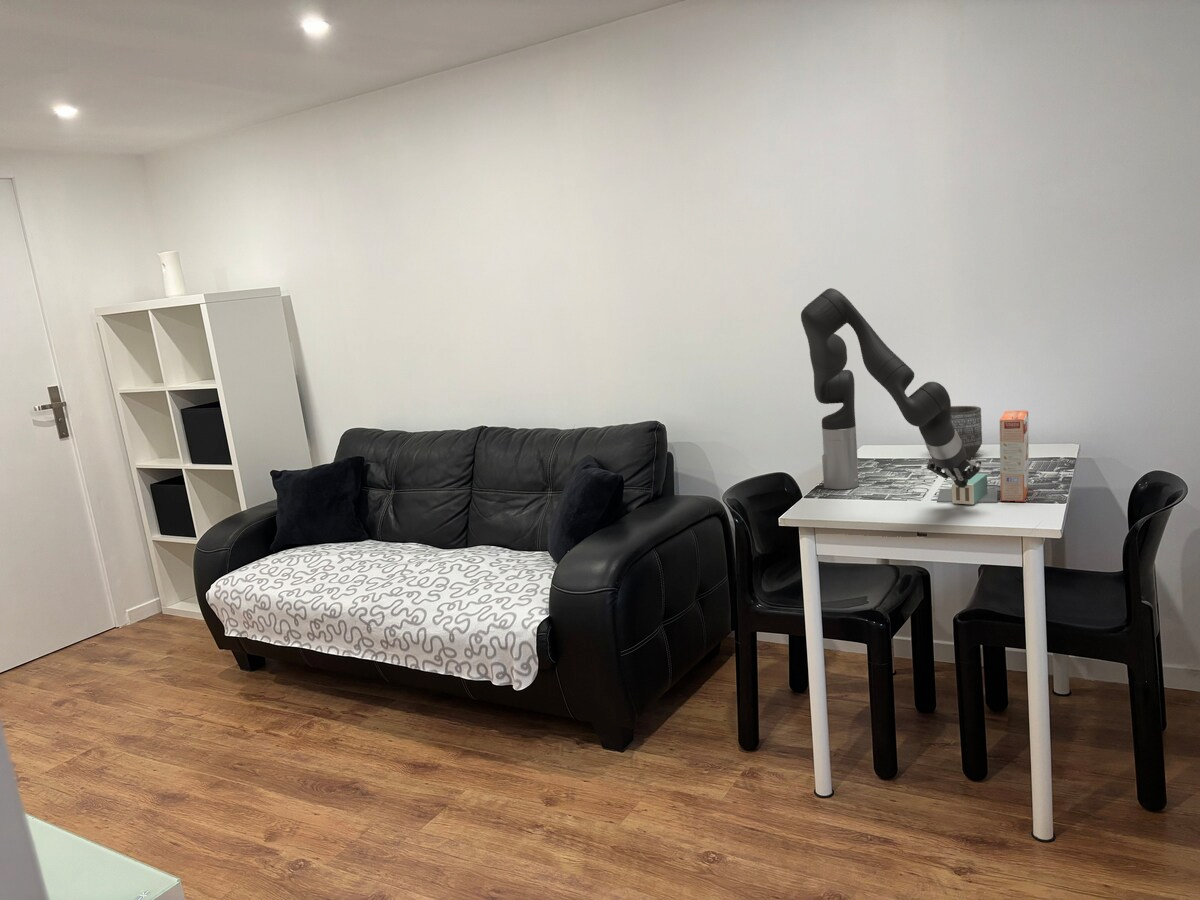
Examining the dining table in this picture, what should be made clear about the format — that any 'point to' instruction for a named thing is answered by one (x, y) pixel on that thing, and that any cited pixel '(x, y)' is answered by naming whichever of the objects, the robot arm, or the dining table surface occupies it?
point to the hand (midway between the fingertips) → (962, 484)
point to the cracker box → (1014, 456)
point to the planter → (968, 427)
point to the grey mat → (990, 497)
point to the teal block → (970, 490)
